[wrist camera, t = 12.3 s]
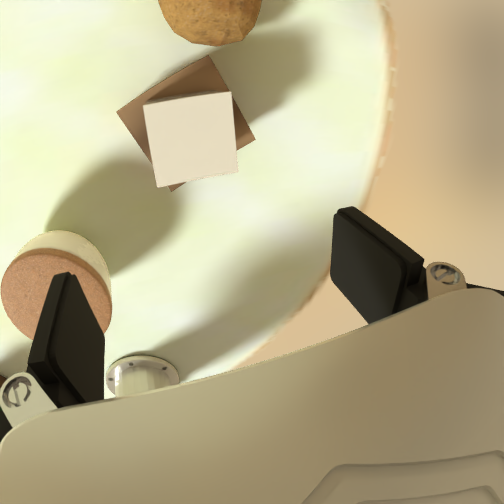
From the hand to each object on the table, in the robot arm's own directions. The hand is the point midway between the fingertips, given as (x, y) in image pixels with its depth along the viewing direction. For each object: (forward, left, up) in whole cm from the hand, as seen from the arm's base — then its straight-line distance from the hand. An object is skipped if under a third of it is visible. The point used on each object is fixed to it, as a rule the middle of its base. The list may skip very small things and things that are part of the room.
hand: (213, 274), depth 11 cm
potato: (+16, -6, -25) cm, 30 cm away
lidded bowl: (-11, +15, -25) cm, 32 cm away
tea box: (+2, -2, -25) cm, 25 cm away
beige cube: (+2, -1, -20) cm, 20 cm away
